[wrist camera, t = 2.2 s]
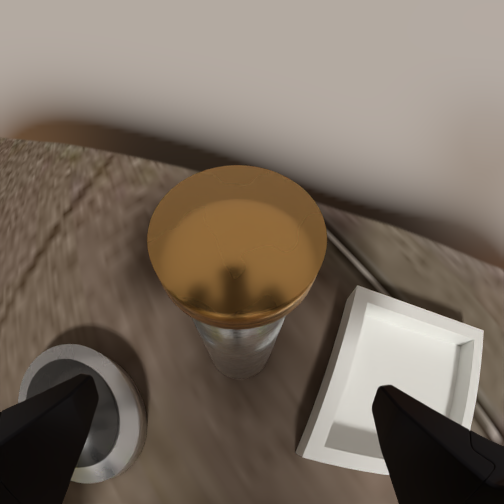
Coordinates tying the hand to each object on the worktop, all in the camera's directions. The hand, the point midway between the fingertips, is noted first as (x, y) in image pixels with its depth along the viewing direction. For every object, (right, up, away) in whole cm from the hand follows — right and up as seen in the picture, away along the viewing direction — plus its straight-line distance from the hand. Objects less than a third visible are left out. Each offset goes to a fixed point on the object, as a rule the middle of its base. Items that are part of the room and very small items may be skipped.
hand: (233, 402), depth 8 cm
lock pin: (0, -2, +12) cm, 12 cm away
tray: (+11, -6, +10) cm, 16 cm away
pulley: (-11, -7, +9) cm, 16 cm away
